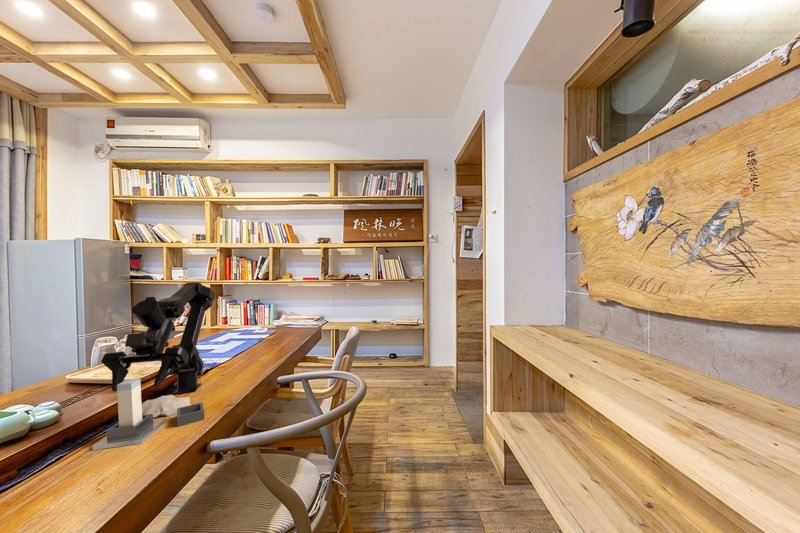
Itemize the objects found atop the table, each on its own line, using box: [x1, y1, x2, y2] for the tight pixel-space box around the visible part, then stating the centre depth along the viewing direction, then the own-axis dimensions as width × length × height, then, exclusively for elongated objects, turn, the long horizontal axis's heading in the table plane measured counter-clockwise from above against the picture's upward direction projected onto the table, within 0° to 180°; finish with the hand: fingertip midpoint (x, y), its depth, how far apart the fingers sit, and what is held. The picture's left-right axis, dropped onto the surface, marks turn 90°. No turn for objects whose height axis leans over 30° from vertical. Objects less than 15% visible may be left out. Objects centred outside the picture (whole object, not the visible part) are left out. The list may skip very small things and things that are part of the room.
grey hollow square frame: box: [176, 402, 205, 427], centre depth 85 cm, size 7×6×2 cm
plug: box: [116, 378, 143, 427], centre depth 78 cm, size 4×3×12 cm
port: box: [92, 414, 166, 451], centre depth 78 cm, size 10×10×4 cm
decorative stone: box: [142, 394, 192, 419], centre depth 91 cm, size 11×4×15 cm
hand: (134, 388), depth 80 cm, fingers open, 9 cm apart
